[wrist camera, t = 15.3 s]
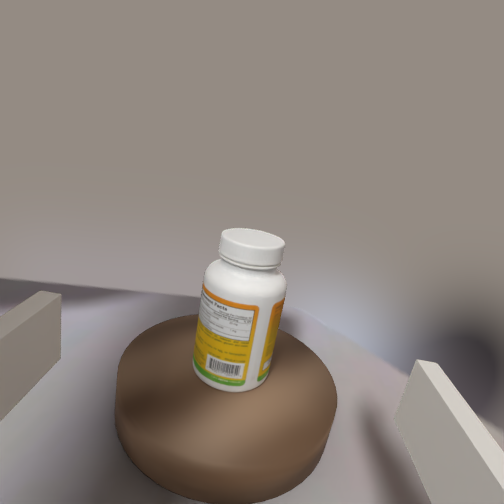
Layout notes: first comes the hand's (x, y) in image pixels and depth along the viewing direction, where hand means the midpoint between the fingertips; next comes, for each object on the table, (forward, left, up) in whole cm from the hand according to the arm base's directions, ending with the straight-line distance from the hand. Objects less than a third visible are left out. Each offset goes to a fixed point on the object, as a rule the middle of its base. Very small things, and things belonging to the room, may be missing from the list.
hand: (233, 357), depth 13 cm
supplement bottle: (-7, +7, -8) cm, 13 cm away
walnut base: (-7, +7, -11) cm, 15 cm away
